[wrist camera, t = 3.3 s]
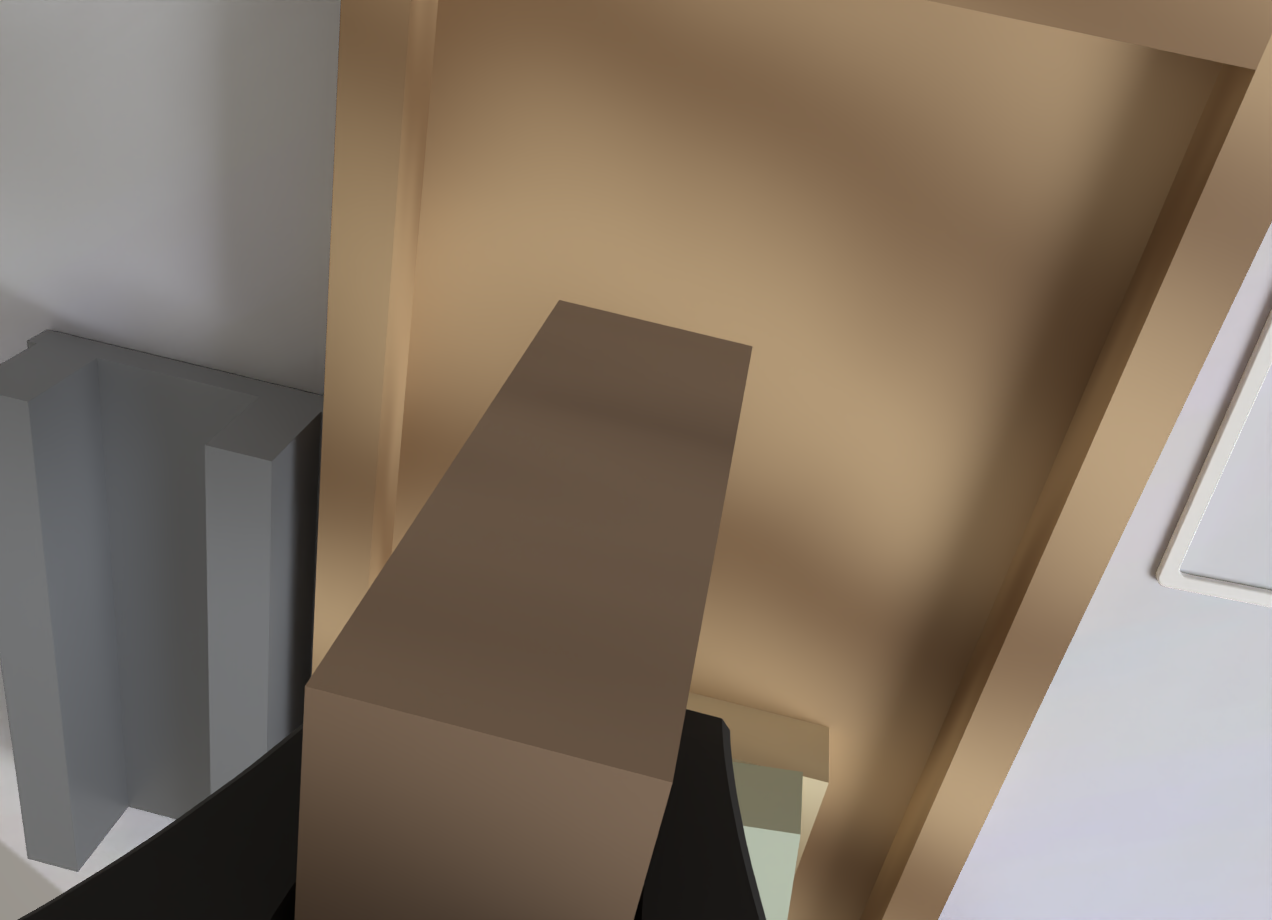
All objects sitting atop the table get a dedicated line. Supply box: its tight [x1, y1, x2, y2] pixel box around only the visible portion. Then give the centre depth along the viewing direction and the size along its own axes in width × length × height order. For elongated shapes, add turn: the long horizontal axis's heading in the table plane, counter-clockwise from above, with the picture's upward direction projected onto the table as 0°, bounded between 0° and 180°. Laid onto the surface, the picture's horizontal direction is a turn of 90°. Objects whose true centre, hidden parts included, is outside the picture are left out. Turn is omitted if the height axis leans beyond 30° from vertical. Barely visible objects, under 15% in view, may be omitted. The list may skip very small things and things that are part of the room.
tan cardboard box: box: [295, 300, 753, 920], centre depth 10 cm, size 8×2×6 cm, turn 169°
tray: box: [312, 0, 1272, 920], centre depth 20 cm, size 22×13×2 cm, turn 170°
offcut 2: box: [732, 762, 803, 920], centre depth 20 cm, size 4×6×2 cm, turn 88°
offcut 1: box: [686, 692, 829, 876], centre depth 22 cm, size 5×7×2 cm
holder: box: [0, 330, 324, 872], centre depth 23 cm, size 12×6×3 cm, turn 170°
